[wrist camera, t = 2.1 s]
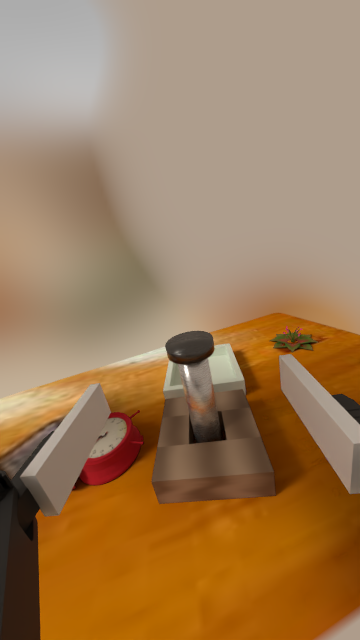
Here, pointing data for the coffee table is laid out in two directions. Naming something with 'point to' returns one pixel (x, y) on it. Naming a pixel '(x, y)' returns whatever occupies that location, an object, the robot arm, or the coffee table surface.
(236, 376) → the sage tray
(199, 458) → the brown square frame
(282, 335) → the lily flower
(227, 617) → the coffee table surface
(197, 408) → the steel pin
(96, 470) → the alarm clock
